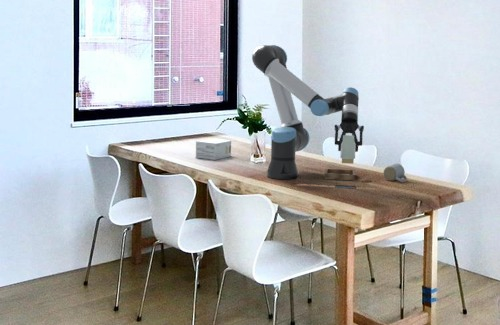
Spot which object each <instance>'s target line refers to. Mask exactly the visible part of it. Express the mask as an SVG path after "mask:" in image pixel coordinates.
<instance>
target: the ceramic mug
mask: <svg viewBox="0 0 500 325" xmlns="http://www.w3.org/2000/svg"><path fill="white" fill-rule="evenodd" d="M382 174H383V177H384V178H385V180H386V181H389V182H390V181H391V182H393V181H399V182H401V183H406V182H407V181H408V178H407V177H408V176H406V175H405V168H404V166H403V165H402V164H400V163H393V164H391V165H387V166H386V167H385V168H384V170H383V173H382Z"/></svg>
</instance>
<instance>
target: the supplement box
mask: <svg viewBox="0 0 500 325" xmlns="http://www.w3.org/2000/svg"><path fill="white" fill-rule="evenodd" d="M231 156H232V140H228V139H218V138H210V139H205V140H197V141H195V158H196V159H197V158H198V159H205V160H212V161H213V160H214V161H215V160H220V159H224V158H230V157H231Z"/></svg>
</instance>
